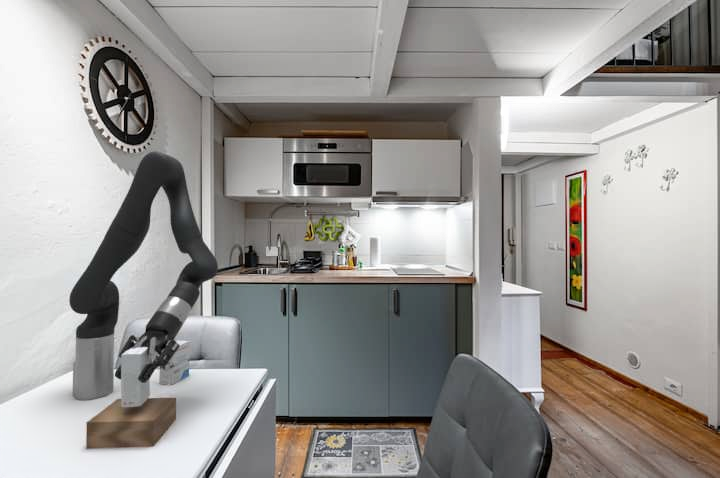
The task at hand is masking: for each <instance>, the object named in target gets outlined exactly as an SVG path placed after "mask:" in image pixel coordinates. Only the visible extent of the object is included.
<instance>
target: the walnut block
mask: <svg viewBox="0 0 720 478" xmlns="http://www.w3.org/2000/svg"><path fill="white" fill-rule="evenodd" d="M176 419H177V397H176V396H175V397H148V399H147V400H146V401H145V402H144V403H143V404H142V405H141V406H138V407H121V398H117V399H115V401H113V402H112V403H110V404H109V405H107V407H105V408H104V409H103V410H101V411H100V412H98V413H97V414H95V416H93V417H92V418H90V419H89V420H88V421H86V436H85V437H86V440H85V444H86V445H85V446H86V447H85V449H86V450H87V449H113V448H114V449H115V448H116V449H117V448H118V449H119V448H143V447H144V448H145V447H147V448H148V447H154V446H155V445H156V444H157V443H158V442H159V441H160V440H161V438H162V437H163V436H164V435H165V433H167V431H168V430H169V428H171V426H173V424H174V423H175V422H176Z"/></svg>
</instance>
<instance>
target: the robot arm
mask: <svg viewBox="0 0 720 478" xmlns="http://www.w3.org/2000/svg"><path fill="white" fill-rule="evenodd" d="M137 166H138V167H137V168H136V171H135V174H134V177H133V179H132V182H131V184H130V187H129V189H128V192H127V193H126V196H125V197H124V199H123V201H122V203H121V205H120V208H119V209H118V211H117V213H116V214H115V217H114V218H113V220H112V222H111V224H110V225H109V227H108V229H107V230H106V232H105V235H104V237H103V240H102V241H101V242H100V244H99V246H98V248H97V250H96V251H95V254H94V256H93V257H92V259H91V261H90V262H89V264H88V266H87V267H86V269H85V270H84V272H83V273H82V274H81V276H80V277H79V279H78V280H77V281H76V283H75V284H74V285H73V287H72V289H71V291H70V293H69V301H68V302H69V306H70V308H71V310H72V311H73V312H74V313H76V314H79V315H86V317H85V319H84V320H83V321H82V322H80V324H79V325H78V326H77V327H76V329H75V361H74V362H73V363H72V396H73V397H74V398H75V399H76V400H79V401H82V400H83V401H85V400H93V399H99V398H102V397H105V396H108V395H109V394H111V393H112V392H113V391H114V379H115V378H116V379H118V380H121V363H120V365H119V366H118V368H117V369H116V370H115V369H114V368H115V367H114V366H115V328H116V325H117V323H118V322H119V321H118V319H119V310H120V309H119V307H120V293H119V289H118V286H117V285H116V284H115V282H113V281H112V278H113V277H114V275H116V272H118V270H120V269H121V268H122V267H123V266H124V264H125V263H127V262H128V261H129V260H130V259H131V258H132V257H134V255H135V254H136V253H137V251H139V249H140V247H141V246H142V244H143V242H144V240H145V239H146V237H147V234H148V232H149V230H150V226H151V217H152V216H151V212H152V210H151V209H152V205H153V202H154V200H155V199H156V198H155V197H156V196H157V194H158V193H159V191H160V189H161V188H162V189H163V191H164V193H165V194H166V197H167V200H168V203H169V212H170V220H169V221H170V226H171V231H172V235H173V237H174V239H175V242H176V245H177V247H178V250H179V252H180V253H182V254H187V255H188V256H189V257H190V259H191V261H190V262H188V263H187V264H186V265H185V266H184V267H183V269H182V270H181V272H180V274H179V275H178V278H177V280H176V284H175V285H174V287H173V288H172V289H171V291H170V292H169V294H168V295H167V296H166V298H165V299H164V300H163V301H162V302H161V303H160V305H159V306H158V307H157V309H156V310H155V312H154V314H153V315H152V317H151V318H150V319H149V321H148V322H147V324H146V325H145V332H144V333H143V334H141V335H140V336H135V335H134V334H133V335H132V334H131V335H130V336H129V337H128V339H127V341H126V342H125V343H124V345H123V348H122V349H121V351H120V352H119V354H118V357H119V358H120V359H121V355H122V354H123V353H125V352H126V351H127V350H129V349H131V348H138V347H147V348H148V350H147V352H148V353H149V364H146V366H145V368H144V369H143V371H142V372H141V374H140V375H139V377H138V380H139V381H141V382H142V383H146V382H147V381H148V380H149V381H150V379H151V377H152V376H153V374H154V372H155V370H156V369H157V368H158V369H159V368H160V366H163V367H164V366H166V365H167V363H168V362H169V361H170V359H171V358H172V356H173V355H174V353H175V352H176V351H177V349H178V348H179V346H180V345H179V344H178V343H177V342H176V341H177V340H175V338H176V336H177V335H178V333H179V332H180V330H181V329H182V327H183V325H184V324H185V322H186V320H187V319H188V317H189V314H190V313H191V311H192V309H193V307H194V305H195V304H196V302H197V301H198V299H199V296H200V293H201V292H200V291H201V290H199V289H200V287H201V286H202V284H203V283H205V282H208V281H211V280H212V279H214V278H215V277H216V276H217V274H218V272H219V271H218V270H219V265H218V261H217V259H216V257H215V255H214V253H213V252H212V251H211V249H210V248H209V246H208V245H207V244H206V243H205V242H204V239H203V235H202V233H201V230H200V227H199V224H198V223H197V220H196V216H195V214H194V211H193V206H192V203H191V199H190V195H189V190H188V186H187V178H186V174H185V170H184V167H183V165H182V163H181V162H180V160H178V159H177V158H175V157H174V156H171V155H169V154H166V153H165V152H161V151H155V150H154V151H151V152H148V153H146V154H145V155H144V156H143V157H142V159H141V160H140V162H139V164H138V165H137ZM165 356H166V358H165V359H164V357H165Z"/></svg>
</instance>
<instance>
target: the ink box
mask: <svg viewBox="0 0 720 478" xmlns="http://www.w3.org/2000/svg"><path fill="white" fill-rule="evenodd" d="M175 341H176V342H177V343H178V344H179V345H180V346H179V348H178V349H177V351H176V352H175V353H174V355H173V356H172V358H171V359H170V361H169V362H168V363H167V365H166V366H164V367H163V366H159V377H158V378H159V379H158V380H159V381H158V384H161V385H166V384H170V385H169V386H173V385H175V384H176V383H178V382H180V381H181V379H182V380H183V378H184V379H186V378H187V377H189V376H190V352H191V341H190V340H175ZM165 358H166V356H165V357H164V359H165ZM185 377H186V378H185ZM179 380H180V381H179ZM174 383H175V384H174ZM172 384H173V385H172Z"/></svg>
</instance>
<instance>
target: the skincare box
mask: <svg viewBox="0 0 720 478" xmlns="http://www.w3.org/2000/svg"><path fill="white" fill-rule="evenodd" d="M147 350H148V348H147V347H138V348H131V349H129V350H127V351H126V352H125V353H123V354H122V355H121V358H120V364H121V379H120V399H121V407H138V406H141V405H142V404H143V403H144V402H145V401H146V400H147V399H148V398H150V396H151V395H150V391H151V389H150V386H151V385H150V383H151V382H150V379H149V380H148V381H147V382H146V383H142V382H141V381H139V380H138V377H139V375H140V374H141V372H142V371H143V369H144V368H145V366H146V364H149V358H150V355H149V353H148V352H147Z"/></svg>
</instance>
